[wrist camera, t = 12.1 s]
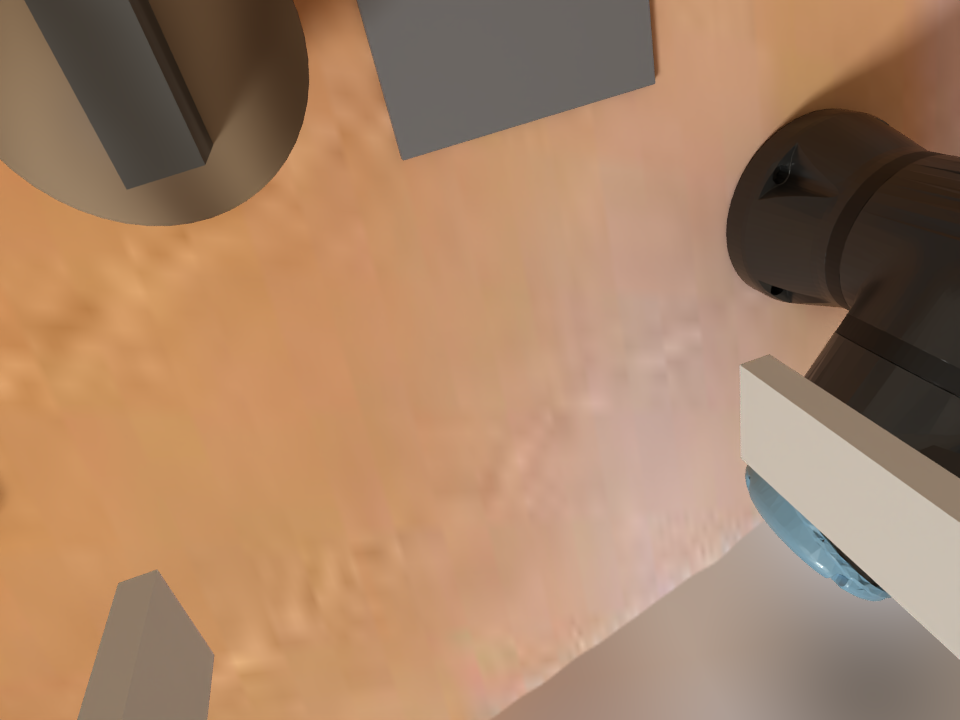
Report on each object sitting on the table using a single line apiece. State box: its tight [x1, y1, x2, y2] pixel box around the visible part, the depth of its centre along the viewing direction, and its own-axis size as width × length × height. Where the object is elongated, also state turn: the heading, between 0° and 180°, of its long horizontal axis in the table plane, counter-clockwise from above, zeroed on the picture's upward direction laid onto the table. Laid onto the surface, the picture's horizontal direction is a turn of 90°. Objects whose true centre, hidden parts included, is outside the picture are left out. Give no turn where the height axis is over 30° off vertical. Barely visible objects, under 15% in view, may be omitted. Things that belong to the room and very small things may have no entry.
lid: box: [0, 0, 309, 226], centre depth 25 cm, size 14×14×6 cm
